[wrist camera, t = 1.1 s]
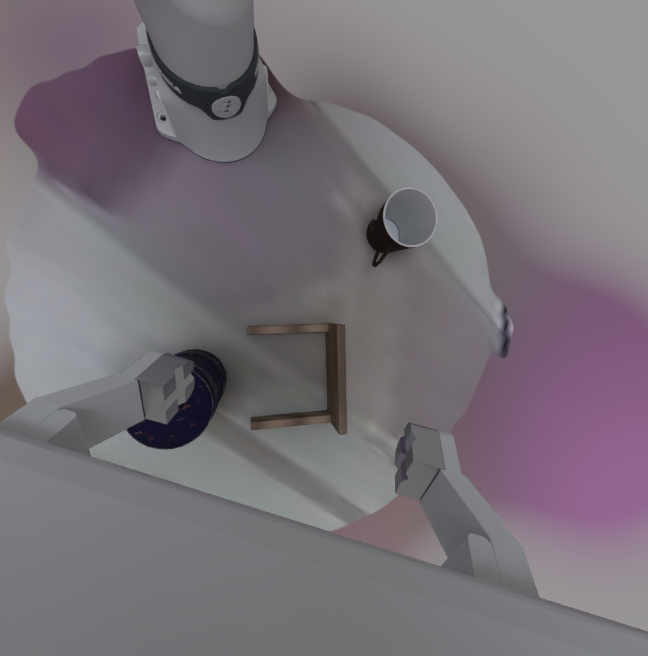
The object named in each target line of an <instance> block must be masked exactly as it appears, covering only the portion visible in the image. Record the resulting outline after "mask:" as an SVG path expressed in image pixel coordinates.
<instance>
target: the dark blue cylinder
mask: <svg viewBox="0 0 648 656" xmlns="http://www.w3.org/2000/svg"><path fill="white" fill-rule="evenodd" d="M175 356H178V357H181V358H184V359H188V360H191V361H192V362H193V363H194V370H193V371H192V372H191V374H192V376H193V377H194V380H195V384H194V389H193V391H192V393H191V395H190V397H189V398H188V400H187V401H186V402H185V403H182V404H180V405H178V412H177V413H176V414H175V415H174V417H173V418H172V419H171V420H170V421H169V423H168V424H164V423H160V422H156V421H152V420H149V419H145V418H144V420H143V421H141V422H139V423H137V424H135V425H133V426H131V427H129V428H128V429H126V430H127V431H128V433H129V434H130V435H131V436H132V437H133V438H134V439H135V440H137V441H138V442H139V443H141V444H143V445H145V446H148V447H151V448H155V449H174V448H178V447H182V446H184V445H187V444H189V443H190V442H192V441H194V440H195V439H196V438H197V437H199V436H200V435H201V433H202V432H203V431H204V430H205V428H206V427H207V425H208V423H209V422H210V420H211V419H212V417H213V415H214V413H215V411H216V408H217V405H218V403H219V401H220V399H221V397H222V395H223V393H224V389H225V385H226V372H225V369H224V366H223V364H222V363H221V361H220V360H219V359H218V358H217V357H216V356H214V355H213V354H211V353H209V352H207V351H203V350H197V349H194V350H187V351H184V352H180V353H177V354H175Z"/></svg>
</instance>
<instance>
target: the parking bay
mask: <svg viewBox="0 0 648 656" xmlns="http://www.w3.org/2000/svg"><path fill="white" fill-rule="evenodd" d="M247 332H248V334H274V333H301V332H326V367H327V410H328V411H317V412H306V413H295V414H284V415H273V416H262V417H251V430H257V429H267V428H278V427H288V426H298V425H308V424H318V423H328V422H331V423H332V425H333V426H334V428H335V429H336V431H337V432H338V434H339V435H343V434H347V407H346V358H345V325H340V324H300V325H269V326H248V327H247Z"/></svg>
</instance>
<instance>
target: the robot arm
mask: <svg viewBox="0 0 648 656" xmlns="http://www.w3.org/2000/svg"><path fill="white" fill-rule="evenodd" d="M134 2H135V4H136V6H137V9H138V11H139V13H140V15H141V17H142V20H143V22H142V23H141V24H140V25H139V26H138V28H137V37H138V42H139V45H137V46H136V48H137V52H138V55H139V58H140V61H141V64H142V66H143V67H144V70H145V75H146V80H147V85H148V89H149V94H150V99H151V104H152V108H153V113H154V118H155V122H156V127H157V129H158V132H159V133H160V134H161V135H162V136H163V137H165V138H168V139H170V140H174V141H177V142H180V143H182V144H183V145H185V146H186V147H187V148H189V149H190V150H191V151H193V152H194V153H196V154H197V155H199V156H201V157H203V158H206V159H209V160H212V161H217V162H231V161H236V160H239V159H242V158H244V157H246V156H248V155H249V154H251V153H252V152H253V151H254V150H255V149H256V148H257V147H258V145H259V144H260V142H261V141H262V138H263V136H264V133H265V129H266V124H267V120H268V118H269V117H270V116H271V114H272V113H273V112H274V110H275V108H276V106H277V99H276V96H275V94H274V92H273V90H272V89H271V87H270V85H269V83H268V72H267V68H266V66H265V65H263V63H262V61H261V59H260V58H259V49H258V43H257V36H256V32H255V29H254V21H253V20H254V17H253V16H254V15H253V0H134ZM162 118H166V120H165V121H162ZM193 370H194V363H193V362H192V361H191V360H188V359H184V358H181V357H178V356H175V355H171V354H168V353H164V352H161V351H158V350H151V351H149V352H148V353H147V354H145V355H144V356H143V357H142V358H140V359H139V360H138V361H137V362H135V363H134V364H133V365H132V366H131V367H129V368H128V369H127V370H126V371H124V372H123V373H122V374H121V375H117V374H115V375H111V376H108V377H105V378H101V379H98V380H95V381H91V382H88V383H85V384H82V385H78V386H75V387H72V388H68V389H65V390H62V391H58V392H55V393H52V394H48V395H45V396H42V397H38V398H35V399H33V400H32V401H31V402H29V403H28V404H26V405H25V406H23V407H22V408H20V409H19V410H17V411H16V412H15V413H13V414H12V415H10V416H9V417H7V418H6V419H4V420H3V421H2V422H0V656H648V632H647V631H644V630H641V629H638V628H634V627H631V626H628V625H625V624H622V623H619V622H615V621H612V620H609V619H606V618H603V617H599V616H596V615H593V614H590V613H587V612H584V611H580V610H577V609H574V608H571V607H568V606H564V605H561V604H558V603H555V602H552V601H548V600H545V599H542V598H539V595H538V592H537V589H536V586H535V583H534V580H533V577H532V574H531V571H530V568H529V565H528V562H527V558H526V556H525V552H524V549H523V547H522V546H521V545H520V543H519V542H518V541H517V540H516V538H515V537H514V536H513V535H512V533H511V532H510V531H509V530H508V528H507V527H506V526H505V525H504V524H503V522H502V521H501V520H500V518H499V517H498V516H497V515H496V513H494V511H493V510H492V508H491V507H490V506H489V505H488V503H487V502H486V501H485V500H484V498H483V497H482V496H481V495H480V493H479V492H478V491H477V490H476V488H475V487H474V486H473V485H472V483H471V482H470V481H469V480H468V478H467V477H465V476H462V474H461V469H460V465H459V460H458V456H457V451H456V447H455V442H454V437H453V435H452V434H450V433H446V432H443V431H439V430H435V429H431V428H428V427H424V426H420V425H417V424H413V423H410V422H409V423H408V424H407V425H406V427H405V429H404V434H405V436H403V437H401V438H400V440H399V442H398V444H397V448H396V453H395V465H396V466H397V468H398V470H397V472H396V474H395V493H396V494H399V495H402V496H405V497H408V498H411V499H414V500H417V501H420V505H421V507H422V509H423V511H424V512H425V514H426V516H427V518H428V520H429V522H430V524H431V526H432V528H433V530H434V532H435V534H436V536H437V537H438V540H439V542H440V544H441V546H442V548H443V549H444V551H445V553H446V555H447V557H448V559H447V560H446V561H445V562H444V563H443V564H442V565H441V566H437V565H434V564H431V563H428V562H425V561H421V560H418V559H415V558H412V557H409V556H405V555H402V554H399V553H396V552H392V551H390V550H386V549H383V548H380V547H376V546H374V545H371V544H367V543H364V542H361V541H358V540H354V539H351V538H348V537H345V536H342V535H339V534H335V533H332V532H329V531H326V530H323V529H320V528H316V527H313V526H310V525H307V524H304V523H301V522H297V521H294V520H291V519H288V518H285V517H281V516H278V515H275V514H272V513H269V512H265V511H262V510H259V509H256V508H253V507H250V506H246V505H243V504H240V503H237V502H234V501H231V500H227V499H224V498H221V497H218V496H215V495H211V494H208V493H205V492H202V491H199V490H196V489H192V488H189V487H186V486H183V485H180V484H177V483H173V482H170V481H167V480H164V479H161V478H157V477H154V476H151V475H148V474H145V473H142V472H138V471H135V470H132V469H129V468H126V467H123V466H119V465H116V464H113V463H110V462H107V461H103V460H100V459H97V458H94V457H91V455H90V452H89V448H91V447H93V446H95V445H97V444H99V443H101V442H103V441H105V440H107V439H108V438H110V437H112V436H114V435H116V434H118V433H120V432H122V431H124V430H126V429H128V428H129V427H131V426H133V425H135V424H137V423H139V422H141V421H143V420H144V418H145V419H149V420H152V421H156V422H160V423H164V424H168V423H169V421H170V420H171V419H172V418H173V417H174V415H175V414H176V413H177V412H178V405H180V404H182V403H185V402H186V401H187V400H188V398H189V397H190V395H191V393H192V391H193V389H194V384H195V380H194V377H193V376H192V374H191V372H192V371H193Z"/></svg>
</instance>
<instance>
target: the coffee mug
mask: <svg viewBox="0 0 648 656" xmlns="http://www.w3.org/2000/svg"><path fill="white" fill-rule="evenodd" d="M437 222H438V215H437V210H436V206H435V204H434V202H433V201H432V199H431V198H430V197H429V196H428V195H427V194H426V193H425V192H424V191H422V190H420V189H418V188H414V187H404V188H400V189H398V190H397V191H395V192H394V193H393V194H391V196H390V197H389V198H388V199H387V201H386V202H385V203H384V205H383V206H382V208H381V209H380V210H379V212H378V213H377V214H376V216H375V217H374V218H373V220H372V221H371V222H370V224H369V226H368V229H367V239H368V242H369V244H370V245H371V247H372V248H373V249H375V250H376V251H377V252H376V254H375V257H374V259H373V263H372V266H374V267H376V266H378V265H379V264H380V263H381V262H382V261H383V259H384V258H385V257H386V255H387V254H388V252H392V251H398V250H403V249H408V248H413V247H418V246H421V245H423V244H425V243H426V242H427V241H429V240H430V239H431V237H432V236H433V235H434V233H435V230H436V227H437ZM379 252H382V253H384V254H383V255H382V257H381V258H380V259H379V260H378V261H377V262H376V260H377V257H378V255H379Z"/></svg>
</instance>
